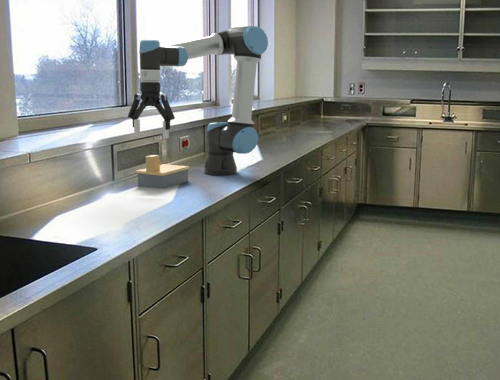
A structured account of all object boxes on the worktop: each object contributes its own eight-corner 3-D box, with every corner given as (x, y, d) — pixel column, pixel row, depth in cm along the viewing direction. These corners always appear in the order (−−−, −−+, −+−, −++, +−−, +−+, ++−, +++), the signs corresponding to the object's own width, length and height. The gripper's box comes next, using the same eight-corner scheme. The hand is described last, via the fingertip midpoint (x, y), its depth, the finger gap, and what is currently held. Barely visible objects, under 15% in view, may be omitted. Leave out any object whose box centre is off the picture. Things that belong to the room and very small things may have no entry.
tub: (164, 180, 248) (163, 166, 247) (188, 183, 243) (187, 168, 242) (138, 187, 233) (137, 173, 231) (163, 190, 227) (162, 175, 226)
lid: (163, 168, 248) (163, 150, 246) (189, 170, 242) (188, 152, 241) (136, 175, 231) (135, 155, 230) (162, 177, 226) (162, 157, 224)
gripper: (118, 81, 226) (119, 136, 230) (172, 82, 215) (172, 139, 219) (130, 81, 232) (131, 134, 236) (183, 82, 221) (183, 138, 225)
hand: (151, 137), depth 228 cm, fingers open, 13 cm apart
